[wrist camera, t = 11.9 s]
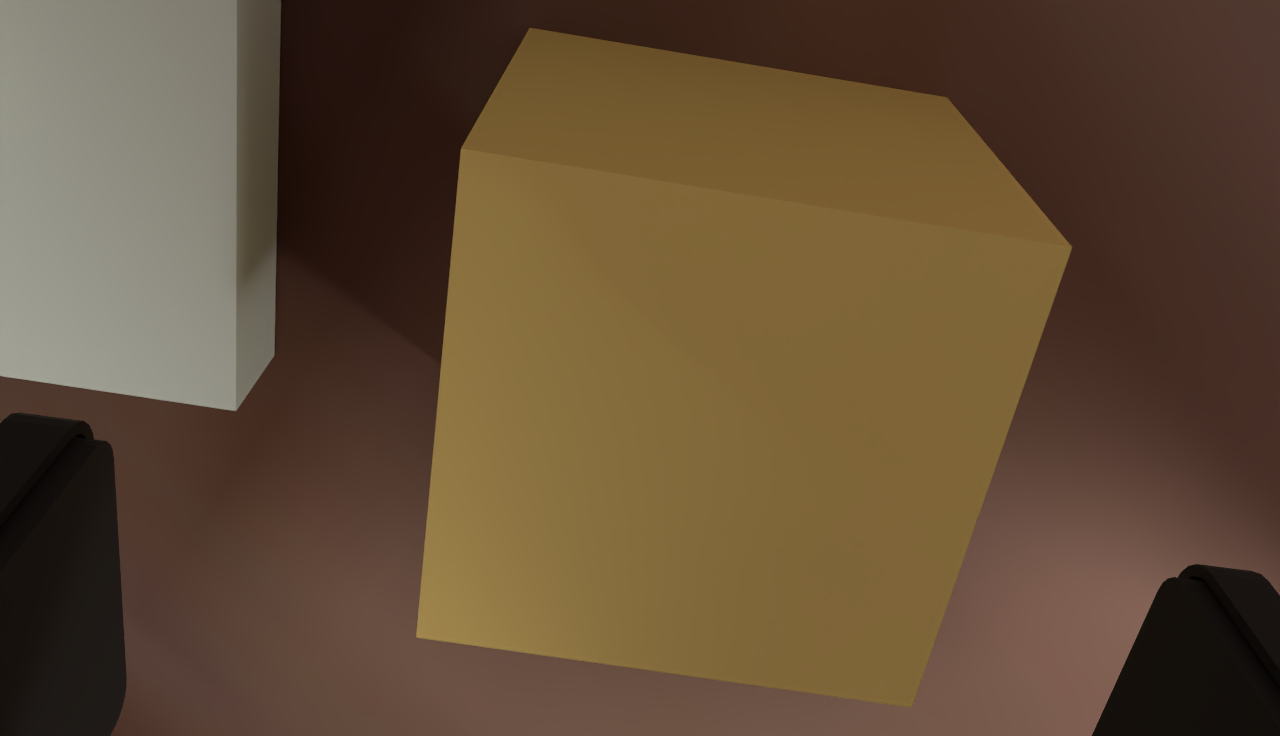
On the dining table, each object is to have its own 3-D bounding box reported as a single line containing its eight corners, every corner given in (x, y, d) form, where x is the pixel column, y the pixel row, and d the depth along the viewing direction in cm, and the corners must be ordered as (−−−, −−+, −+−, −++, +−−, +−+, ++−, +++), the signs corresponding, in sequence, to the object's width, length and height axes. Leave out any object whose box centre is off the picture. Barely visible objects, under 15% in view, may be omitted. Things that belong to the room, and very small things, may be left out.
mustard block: (946, 96, 18) (1072, 246, 12) (847, 450, 21) (911, 707, 15) (530, 26, 18) (460, 147, 12) (488, 396, 21) (415, 637, 15)
